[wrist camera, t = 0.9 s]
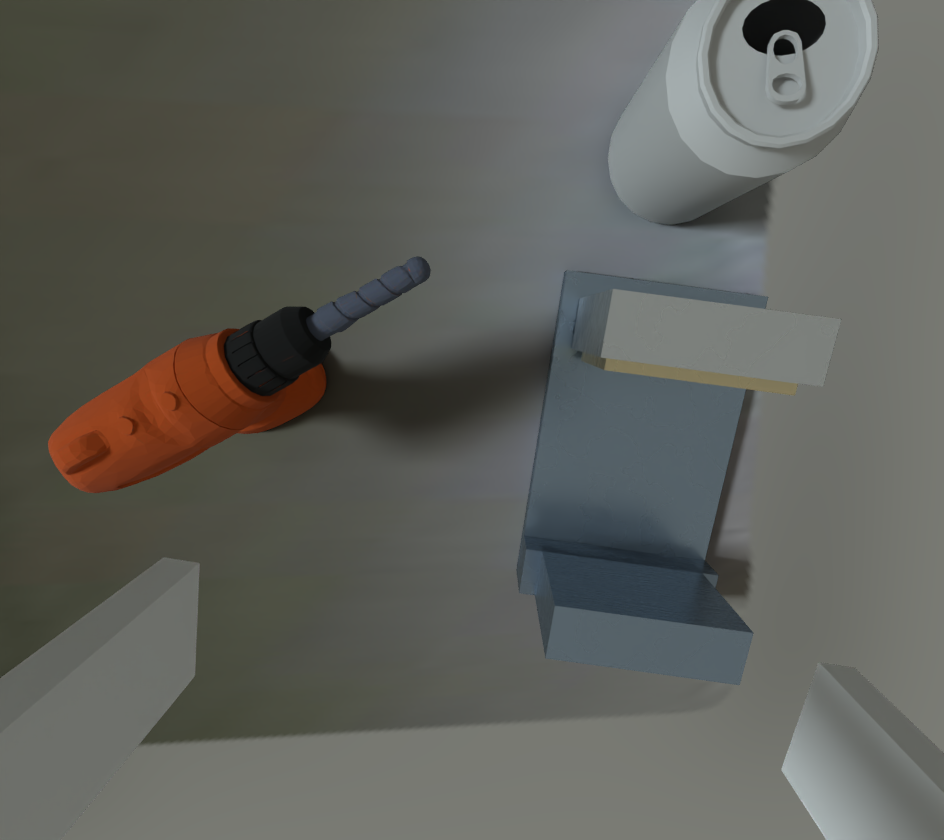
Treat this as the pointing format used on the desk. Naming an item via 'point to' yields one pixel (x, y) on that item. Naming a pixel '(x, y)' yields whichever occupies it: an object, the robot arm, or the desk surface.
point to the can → (740, 101)
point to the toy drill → (213, 390)
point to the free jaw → (704, 341)
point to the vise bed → (631, 508)
